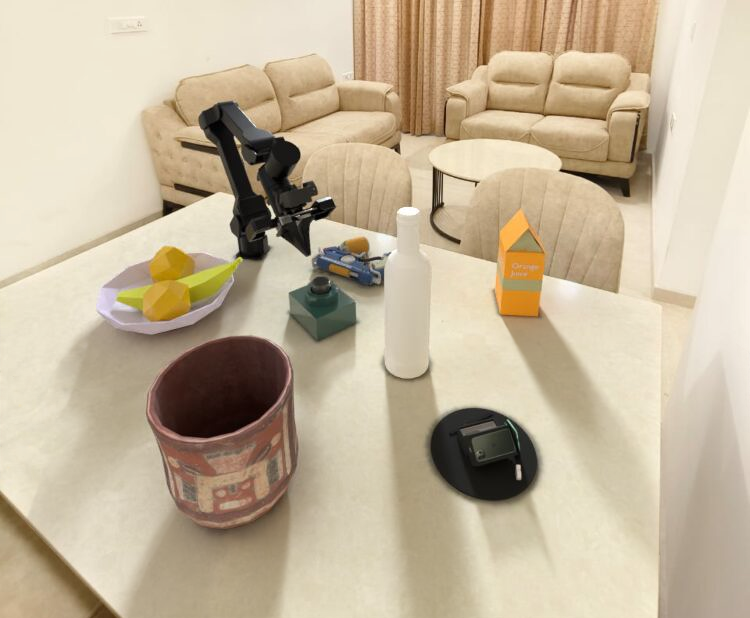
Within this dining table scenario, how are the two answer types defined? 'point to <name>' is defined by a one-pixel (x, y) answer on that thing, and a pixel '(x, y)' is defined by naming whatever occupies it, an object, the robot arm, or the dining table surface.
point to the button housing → (322, 310)
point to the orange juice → (519, 268)
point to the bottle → (407, 300)
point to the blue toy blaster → (352, 261)
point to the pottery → (226, 429)
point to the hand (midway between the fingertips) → (308, 255)
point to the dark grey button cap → (320, 285)
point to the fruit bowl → (166, 291)
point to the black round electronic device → (483, 454)
